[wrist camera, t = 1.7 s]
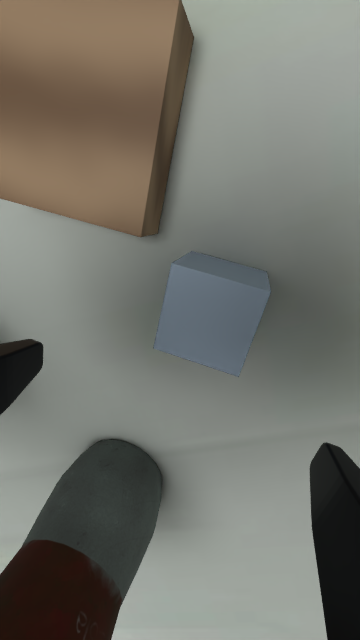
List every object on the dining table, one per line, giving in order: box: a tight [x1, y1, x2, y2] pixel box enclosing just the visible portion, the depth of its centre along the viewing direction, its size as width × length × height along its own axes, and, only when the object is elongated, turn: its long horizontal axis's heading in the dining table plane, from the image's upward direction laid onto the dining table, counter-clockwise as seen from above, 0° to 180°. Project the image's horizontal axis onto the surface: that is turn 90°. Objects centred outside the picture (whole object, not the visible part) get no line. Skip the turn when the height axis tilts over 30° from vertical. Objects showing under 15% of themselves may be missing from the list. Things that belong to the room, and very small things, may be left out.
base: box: [0, 0, 194, 237], centre depth 16 cm, size 10×10×3 cm
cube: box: [153, 251, 271, 377], centre depth 17 cm, size 5×5×5 cm
